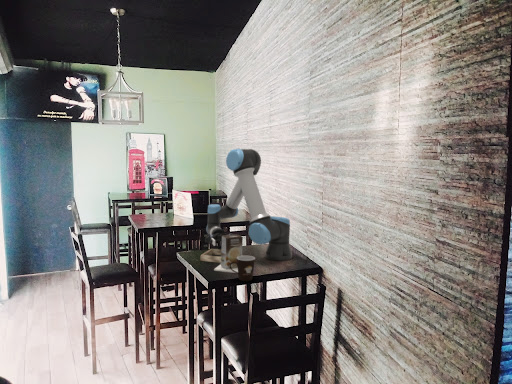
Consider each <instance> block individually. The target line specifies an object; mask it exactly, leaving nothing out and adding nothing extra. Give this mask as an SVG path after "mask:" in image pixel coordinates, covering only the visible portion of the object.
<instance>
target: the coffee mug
mask: <svg viewBox="0 0 512 384" xmlns="http://www.w3.org/2000/svg"><path fill="white" fill-rule="evenodd" d="M255 262H256V257H255V256H252V255H242V256H238V257H237V262H232V263H230V269H231V270H232V268H231V264H233V263H236V264H237V266H238V272H236V271H234V270H232V271H233V272H235V274H237V275H238V276H237V277H238V280H239V281H242V282H250V281H252V280H253V275H254V268H255Z"/></svg>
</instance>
